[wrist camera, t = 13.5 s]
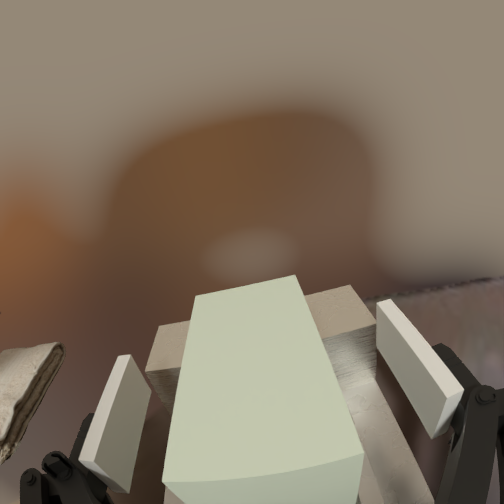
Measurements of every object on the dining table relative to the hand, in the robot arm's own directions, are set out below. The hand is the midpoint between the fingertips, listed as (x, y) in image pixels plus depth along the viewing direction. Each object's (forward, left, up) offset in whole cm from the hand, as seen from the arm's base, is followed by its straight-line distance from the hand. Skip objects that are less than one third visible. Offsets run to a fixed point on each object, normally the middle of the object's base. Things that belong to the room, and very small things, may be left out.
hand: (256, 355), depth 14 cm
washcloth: (-29, +5, -8) cm, 30 cm away
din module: (0, -4, -6) cm, 8 cm away
